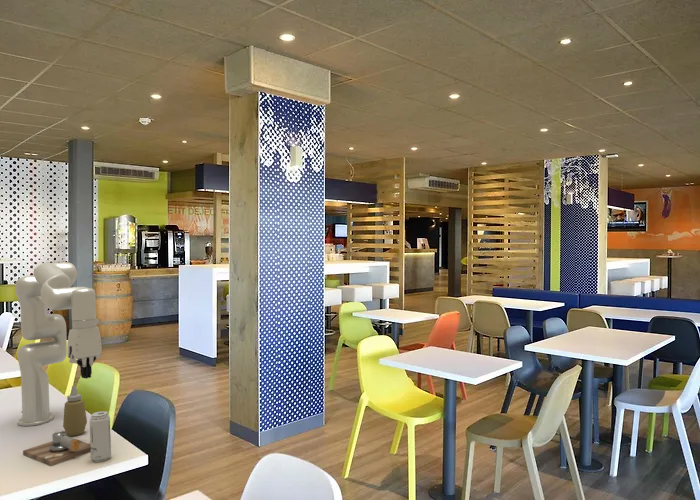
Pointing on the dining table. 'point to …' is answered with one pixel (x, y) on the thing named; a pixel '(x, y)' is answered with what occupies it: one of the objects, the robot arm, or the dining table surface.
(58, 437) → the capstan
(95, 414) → the energy drink can
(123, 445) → the dining table surface
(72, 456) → the walnut stand
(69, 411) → the squeeze bottle
